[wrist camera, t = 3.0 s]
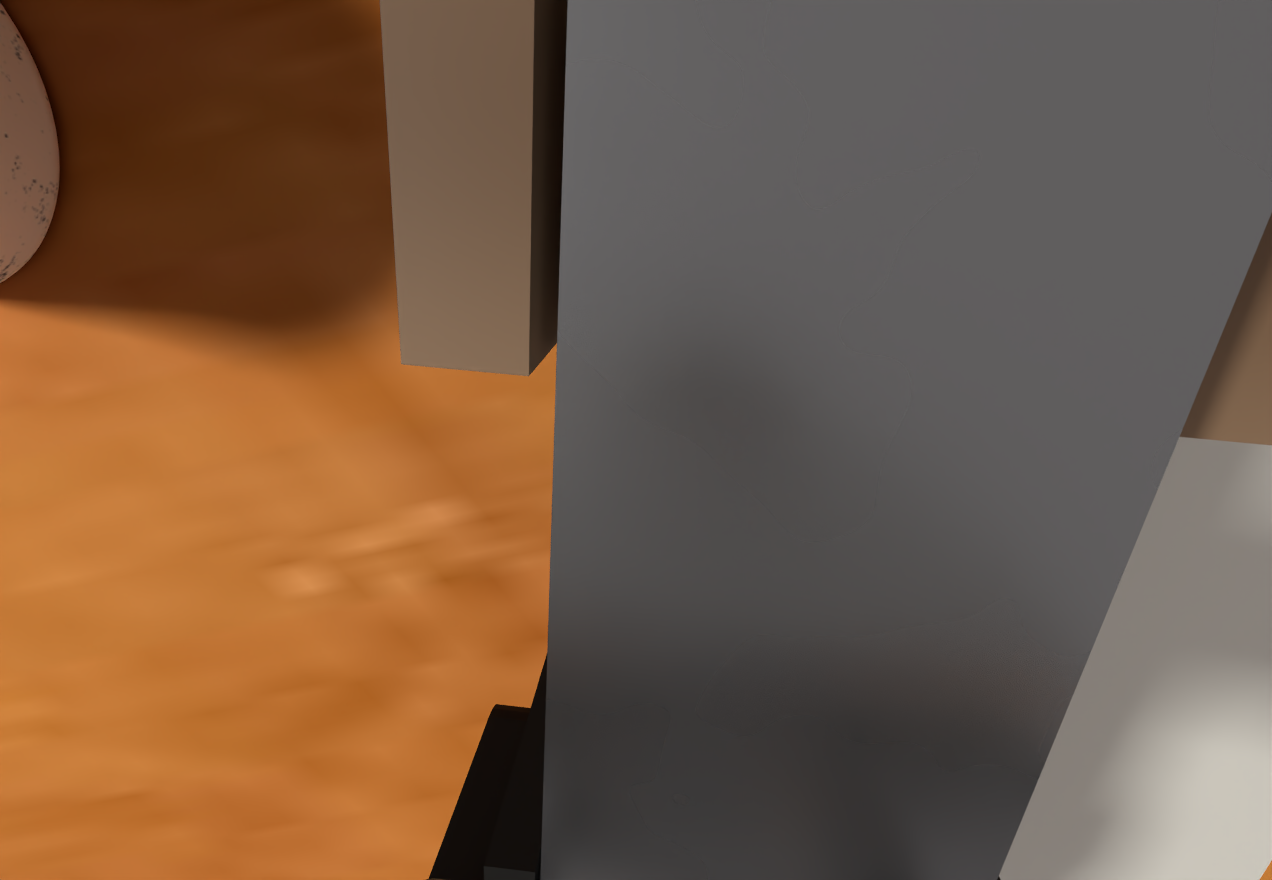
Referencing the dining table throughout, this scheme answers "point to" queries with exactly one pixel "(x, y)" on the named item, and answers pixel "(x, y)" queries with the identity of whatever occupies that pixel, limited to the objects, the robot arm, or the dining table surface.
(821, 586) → the rail
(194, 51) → the dining table surface
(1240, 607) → the mat
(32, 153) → the teacup with lid
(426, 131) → the rack
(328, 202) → the dining table surface
